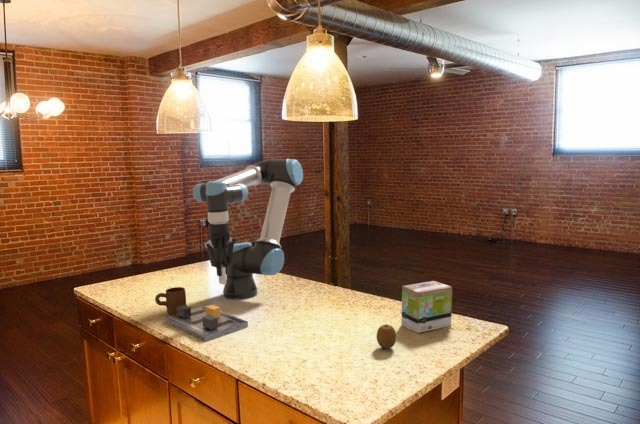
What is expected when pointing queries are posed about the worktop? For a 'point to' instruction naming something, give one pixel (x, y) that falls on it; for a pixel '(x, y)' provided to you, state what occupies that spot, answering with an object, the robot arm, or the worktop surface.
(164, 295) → the mug
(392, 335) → the fruit
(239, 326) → the panel
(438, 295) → the tea box
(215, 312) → the tall orange block
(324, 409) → the worktop surface
